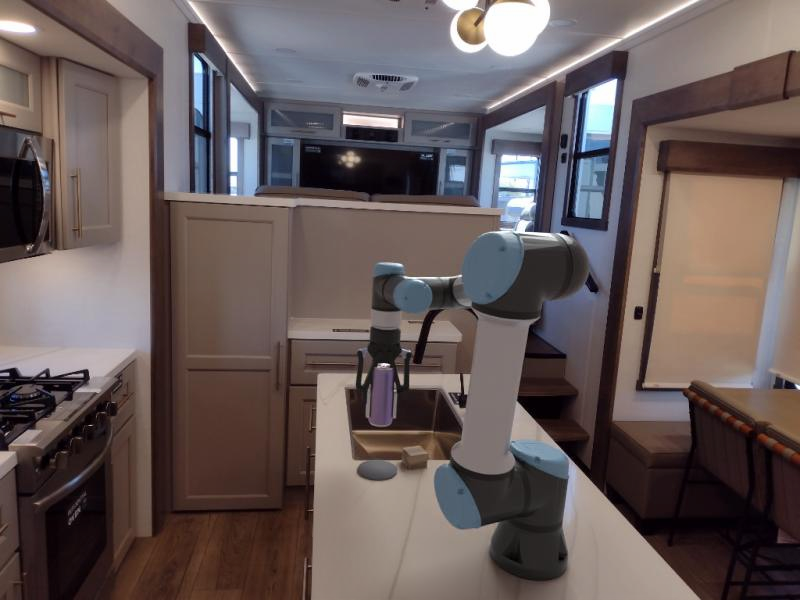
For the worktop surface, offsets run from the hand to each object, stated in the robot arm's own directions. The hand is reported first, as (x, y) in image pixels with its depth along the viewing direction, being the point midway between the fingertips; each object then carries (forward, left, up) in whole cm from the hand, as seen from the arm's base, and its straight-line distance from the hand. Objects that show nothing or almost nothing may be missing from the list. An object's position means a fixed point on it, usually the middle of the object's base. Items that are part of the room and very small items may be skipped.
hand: (380, 415), depth 145 cm
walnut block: (+4, -10, -15) cm, 18 cm away
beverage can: (0, 0, -2) cm, 2 cm away
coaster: (0, 0, -15) cm, 15 cm away
